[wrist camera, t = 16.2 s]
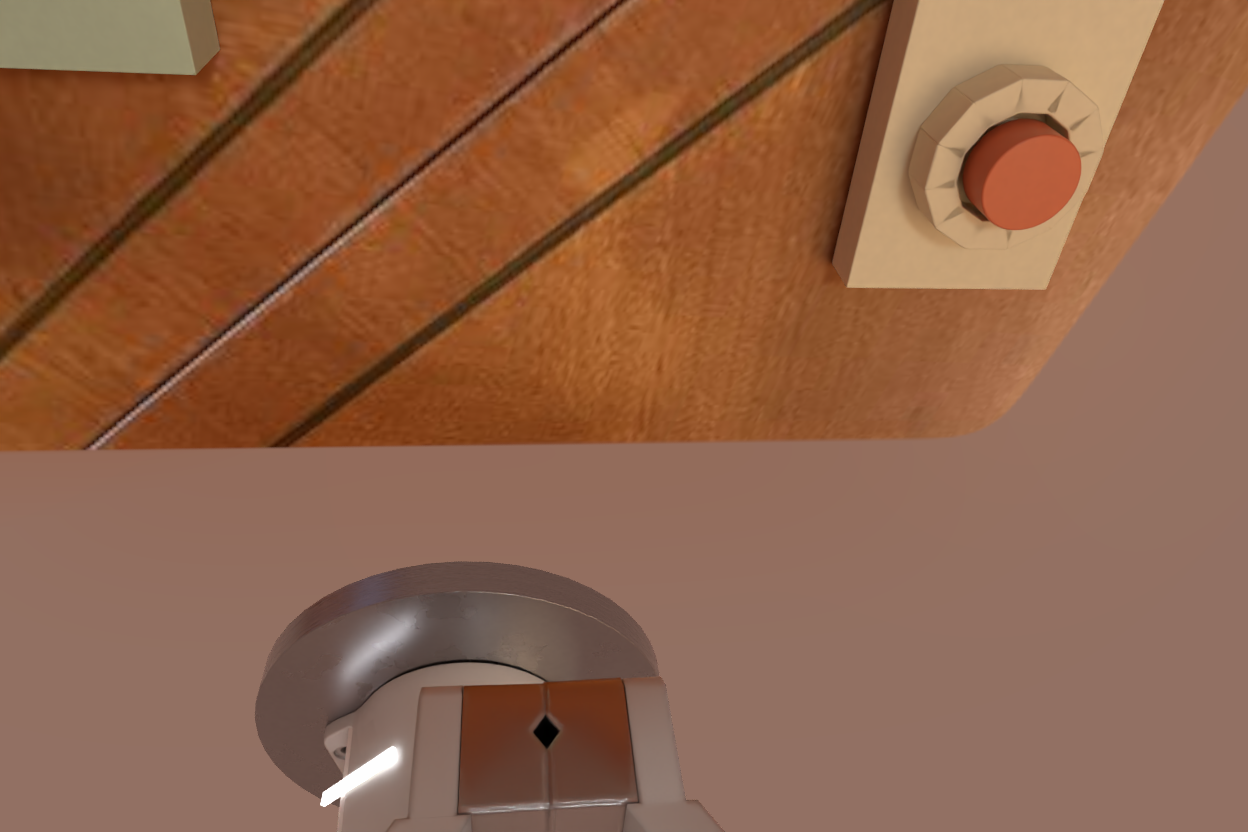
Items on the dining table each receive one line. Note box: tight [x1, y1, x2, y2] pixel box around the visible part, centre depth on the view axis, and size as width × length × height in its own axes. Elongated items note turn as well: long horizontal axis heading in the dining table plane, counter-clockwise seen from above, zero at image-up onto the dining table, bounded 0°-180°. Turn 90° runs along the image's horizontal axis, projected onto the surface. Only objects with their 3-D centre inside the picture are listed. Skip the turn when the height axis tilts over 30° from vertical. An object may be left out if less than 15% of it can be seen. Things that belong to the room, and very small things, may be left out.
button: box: [963, 118, 1081, 230], centre depth 32 cm, size 4×4×2 cm
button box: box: [832, 0, 1164, 290], centre depth 34 cm, size 12×9×4 cm
